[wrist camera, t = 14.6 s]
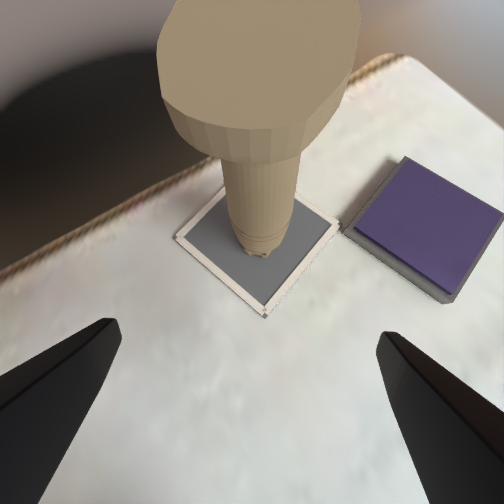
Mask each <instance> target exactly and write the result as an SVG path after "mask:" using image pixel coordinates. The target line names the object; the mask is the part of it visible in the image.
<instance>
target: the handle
mask: <svg viewBox="0 0 504 504" xmlns="http://www.w3.org/2000/svg"><path fill="white" fill-rule="evenodd" d="M360 27H361V11H360V8H359V5H358V3H357V0H178V1H177V2H176V3H175V5H174V7H173V9H172V11H171V13H170V15H169V17H168V19H167V21H166V23H165V25H164V26H163V28H162V31H161V34H160V37H159V39H158V42H157V63H158V73H159V79H160V87H161V93H162V98H163V100H164V103H165V105H166V108H167V110H168V112H169V115H170V117H171V119H172V122H173V124H174V126H175V128H176V130H177V132H178V133H179V134H180V136H181V137H182V138H184V139H185V140H186V141H187V142H188V143H189V144H190V145H192V146H193V147H194V148H196V149H197V150H199V151H201V152H203V153H206V154H208V155H210V156H213V157H216V158H219V159H221V164H222V171H223V177H224V184H225V192H226V199H227V206H228V213H229V217H230V220H231V224H232V227H233V230H234V232H235V234H236V236H237V238H238V240H239V242H240V243H241V244H242V245H243V246H244V250H245V252H246V253H247V254H248V255H258V256H260V257H262V258H267V257H268V256H269V254H270V252H271V251H272V250H274V249H275V248H277V247H279V246H280V244H281V242H282V239H283V238H284V236H285V233H286V231H287V228H288V226H289V222H290V219H291V215H292V212H293V205H294V198H295V190H296V183H297V176H298V169H299V163H300V156H301V152H302V151H303V150H304V149H305V148H306V147H307V146H308V145H309V144H310V143H311V142H312V141H313V140H314V139H315V138H316V137H317V136H318V134H319V133H320V132H321V131H322V129H323V128H324V127H325V126H326V125H327V123H328V122H329V120H330V119H331V117H332V116H333V115H334V113H335V112H336V110H337V109H338V107H339V105H340V103H341V100H342V97H343V94H344V92H345V89H346V86H347V83H348V80H349V77H350V74H351V70H352V67H353V63H354V59H355V56H356V52H357V45H358V38H359V33H360Z"/></svg>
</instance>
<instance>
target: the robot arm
mask: <svg viewBox="0 0 504 504" xmlns="http://www.w3.org/2000/svg"><path fill="white" fill-rule="evenodd" d="M121 340H122V335H121V332H120V328H119V325H118V322H117V320H116V319H114V318H102V319H100V320H98V321H96V322H95V323H93V324H91V325H89V326H88V327H86V328H84V329H82V330H81V331H79V332H77V333H75V334H73V335H72V336H70V337H68V338H66V339H65V340H63V341H61V342H59V343H58V344H56V345H54V346H52V347H51V348H49V349H47V350H45V351H44V352H42V353H40V354H38V355H36V356H35V357H33V358H31V359H29V360H28V361H26V362H24V363H22V364H21V365H19V366H17V367H15V368H14V369H12V370H10V371H8V372H7V373H5V374H3V375H1V376H0V504H38V502H39V501H40V499H41V497H42V495H43V493H44V491H45V490H46V488H47V486H48V484H49V482H50V481H51V479H52V477H53V475H54V473H55V471H56V470H57V468H58V466H59V464H60V462H61V460H62V459H63V457H64V455H65V453H66V451H67V449H68V448H69V446H70V444H71V442H72V440H73V438H74V437H75V435H76V433H77V431H78V429H79V427H80V426H81V424H82V422H83V420H84V418H85V417H86V415H87V413H88V411H89V409H90V407H91V406H92V404H93V402H94V400H95V398H96V396H97V395H98V393H99V391H100V389H101V387H102V385H103V383H104V381H105V378H106V376H107V374H108V371H109V369H110V367H111V364H112V362H113V360H114V358H115V355H116V353H117V351H118V348H119V346H120V343H121ZM376 356H377V360H378V363H379V367H380V370H381V374H382V377H383V381H384V384H385V388H386V391H387V395H388V398H389V401H390V404H391V407H392V410H393V412H394V415H395V418H396V420H397V423H398V425H399V428H400V430H401V433H402V435H403V438H404V440H405V443H406V445H407V448H408V450H409V453H410V455H411V458H412V461H413V463H414V466H415V468H416V471H417V473H418V476H419V478H420V481H421V483H422V486H423V488H424V491H425V493H426V496H427V498H428V501H429V503H430V504H504V412H503V411H501V410H500V409H499V408H497V407H496V406H495V405H493V404H492V403H491V402H489V401H488V400H487V399H485V398H484V397H483V396H481V395H480V394H479V393H477V392H476V391H475V390H473V389H472V388H471V387H469V386H468V385H467V384H465V383H464V382H463V381H461V380H460V379H459V378H457V377H456V376H455V375H453V374H452V373H451V372H449V371H448V370H447V369H445V368H444V367H443V366H441V365H440V364H439V363H437V362H436V361H435V360H433V359H432V358H431V357H429V356H428V355H427V354H425V353H424V352H423V351H421V350H420V349H419V348H417V347H416V346H415V345H413V344H412V343H411V342H409V341H408V340H407V339H405V338H404V337H403V336H401V335H400V334H398V333H397V332H389V331H384V332H382V334H381V336H380V339H379V342H378V345H377V348H376Z"/></svg>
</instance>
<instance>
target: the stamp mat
mask: <svg viewBox="0 0 504 504" xmlns="http://www.w3.org/2000/svg"><path fill="white" fill-rule="evenodd" d="M341 225H342V224H341V223H340V222H339V221H338V220H337V219H335V218H334V217H332V216H331V215H329V214H328V213H327V212H325V211H324V210H322V209H321V208H319V207H318V206H317V205H315V204H314V203H312V202H311V201H309V200H308V199H306V198H305V197H304V196H302V195H301V194H299V193H298V192H296V191H295V198H294V205H293V212H292V215H291V219H290V222H289V226H288V228H287V231H286V233H285V236H284V238H283V239H282V242H281V244H280V246H279V247H277V248H275V249H274V250H272V251H271V252H270V254H269V256H268V257H267V258H262V257H260V256H258V255H248V254H247V253H246V252H245V250H244V246H243V245H242V244H241V243H240V242H239V240H238V238H237V236H236V234H235V232H234V230H233V227H232V224H231V220H230V217H229V213H228V206H227V199H226V192H225V186H224V187H223V188H222V189H221V190H220V191H219V192H218V193H217V194H216V195H215V196H214V197H213V198H212V199H211V200H210V201H209V202H208V203H207V204H206V205H205V206H204V207H203V208H202V209H201V210H200V211H199V212H198V213H197V214H196V215H195V216H194V217H193V218H192V219H191V220H190V221H189V222H188V223H187V224H186V225H185V226H184V227H183V228H182V229H181V230H180V231H179V232H178V233H177V234H176V236H175V237H174V238H173V239H174V240H176V241H177V242H178V243H179V244H180V245H181V246H182V247H184V248H185V249H186V250H187V251H188V252H189V253H190V254H192V255H193V256H194V257H195V258H196V259H197V260H198V261H200V262H201V263H202V264H203V265H204V266H205V267H206V268H208V269H209V270H210V271H211V272H212V273H213V274H215V275H216V276H217V277H218V278H219V279H220V280H221V281H223V282H224V283H225V284H226V285H227V286H228V287H229V288H231V289H232V290H233V291H234V292H235V293H236V294H237V295H239V296H240V297H241V298H242V299H243V300H244V301H245V302H247V303H248V304H249V305H250V306H251V307H252V308H253V309H255V310H256V311H257V312H258V313H259V314H260V315H261V316H263V317H264V318H266V317H267V316H268V314H269V313H270V312H271V311H272V310H273V308H274V307H275V306H276V305H277V303H278V302H279V301H280V300H281V299H282V297H283V296H284V295H285V294H286V292H287V291H288V290H289V289H290V287H291V286H292V285H293V284H294V283H295V281H296V280H297V279H298V278H299V276H300V275H301V274H302V273H303V272H304V270H305V269H306V268H307V267H308V265H309V264H310V263H311V262H312V260H313V259H314V258H315V257H316V256H317V254H318V253H319V252H320V251H321V249H322V248H323V247H324V246H325V245H326V243H327V242H328V241H329V240H330V238H331V237H332V236H333V235H334V233H335V232H336V231H337V230H338V229H339V227H340V226H341Z"/></svg>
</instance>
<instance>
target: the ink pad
mask: <svg viewBox="0 0 504 504" xmlns="http://www.w3.org/2000/svg"><path fill="white" fill-rule="evenodd" d="M503 221H504V213H502V212H500V211H499V210H497V209H495V208H494V207H492V206H490V205H489V204H487V203H485V202H483V201H482V200H480V199H478V198H477V197H475V196H473V195H471V194H470V193H468V192H466V191H465V190H463V189H461V188H459V187H458V186H456V185H454V184H453V183H451V182H449V181H447V180H446V179H444V178H442V177H441V176H439V175H437V174H435V173H434V172H432V171H430V170H429V169H427V168H425V167H423V166H422V165H420V164H418V163H417V162H415V161H413V160H411V159H410V158H408V157H406V156H404V158H403V159H402V160H401V161H400V163H399V164H398V165H397V166H396V167H395V169H394V170H393V171H392V172H391V174H390V175H389V176H388V177H387V179H386V180H385V181H384V182H383V184H382V185H381V186H380V187H379V189H378V190H377V191H376V192H375V194H374V195H373V196H372V197H371V199H370V200H369V201H368V202H367V204H366V205H365V206H364V207H363V208H362V210H361V211H360V212H359V213H358V215H357V216H356V217H355V218H354V220H353V221H352V222H351V223H350V225H349V226H348V227H347V228H346V230H345V231H344V232H343V234H344V235H346V236H347V237H348V238H350V239H351V240H353V241H354V242H356V243H357V244H358V245H360V246H361V247H363V248H364V249H365V250H367V251H368V252H370V253H371V254H373V255H374V256H375V257H377V258H378V259H380V260H381V261H382V262H384V263H385V264H387V265H388V266H389V267H391V268H392V269H394V270H395V271H397V272H398V273H399V274H401V275H402V276H404V277H405V278H406V279H408V280H409V281H411V282H412V283H413V284H415V285H416V286H418V287H419V288H421V289H422V290H423V291H425V292H426V293H428V294H429V295H430V296H432V297H433V298H435V299H436V300H438V301H439V302H440V303H442V304H449V303H453V302H454V300H455V298H456V297H457V295H458V294H459V292H460V290H461V289H462V287H463V285H464V284H465V282H466V281H467V279H468V277H469V276H470V274H471V273H472V271H473V269H474V268H475V266H476V264H477V263H478V261H479V260H480V258H481V256H482V255H483V253H484V251H485V250H486V248H487V247H488V245H489V243H490V242H491V240H492V239H493V237H494V235H495V234H496V232H497V230H498V229H499V227H500V226H501V224H502V222H503Z"/></svg>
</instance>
